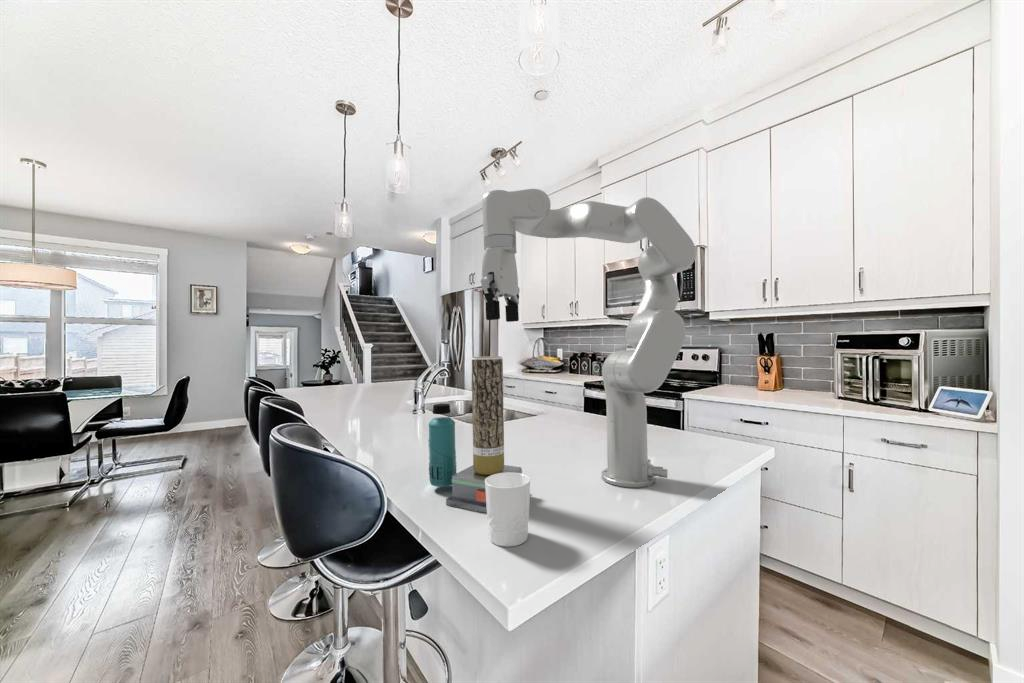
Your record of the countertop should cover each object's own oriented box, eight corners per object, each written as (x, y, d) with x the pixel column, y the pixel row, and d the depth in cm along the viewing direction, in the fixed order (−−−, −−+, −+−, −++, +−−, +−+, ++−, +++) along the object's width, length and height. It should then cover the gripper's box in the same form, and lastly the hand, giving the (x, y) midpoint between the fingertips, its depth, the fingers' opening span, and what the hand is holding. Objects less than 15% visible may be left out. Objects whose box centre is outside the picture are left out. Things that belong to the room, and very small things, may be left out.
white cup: (476, 537, 67) (475, 480, 68) (509, 522, 73) (508, 469, 73) (508, 554, 62) (506, 491, 62) (540, 536, 67) (539, 479, 67)
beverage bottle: (460, 483, 94) (458, 401, 95) (453, 494, 88) (451, 405, 88) (433, 483, 95) (432, 401, 95) (425, 493, 88) (423, 405, 89)
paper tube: (510, 469, 86) (508, 356, 86) (493, 478, 80) (491, 357, 81) (484, 464, 89) (483, 356, 90) (467, 473, 84) (465, 357, 84)
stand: (527, 493, 87) (527, 466, 87) (499, 516, 76) (499, 485, 76) (478, 485, 93) (478, 460, 93) (446, 505, 82) (445, 476, 82)
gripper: (502, 256, 99) (505, 322, 99) (466, 240, 84) (469, 320, 83) (529, 252, 96) (532, 321, 96) (497, 235, 80) (500, 317, 80)
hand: (503, 320), depth 90 cm, fingers open, 9 cm apart
